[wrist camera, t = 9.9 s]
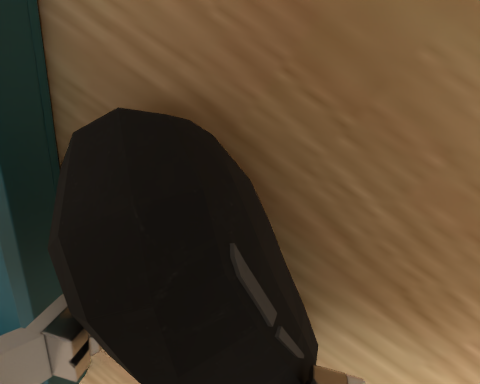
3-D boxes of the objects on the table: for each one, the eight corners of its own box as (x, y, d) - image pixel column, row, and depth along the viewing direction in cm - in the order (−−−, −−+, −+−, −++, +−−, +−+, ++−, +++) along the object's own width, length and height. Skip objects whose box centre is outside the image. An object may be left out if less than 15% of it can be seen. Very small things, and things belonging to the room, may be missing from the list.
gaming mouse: (235, 435, 15) (207, 556, 11) (49, 151, 11) (-88, 200, 7) (374, 431, 12) (394, 584, 9) (201, 66, 8) (110, 76, 5)
